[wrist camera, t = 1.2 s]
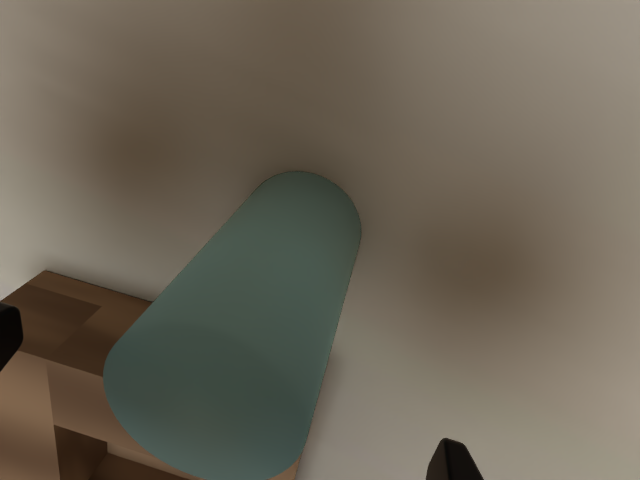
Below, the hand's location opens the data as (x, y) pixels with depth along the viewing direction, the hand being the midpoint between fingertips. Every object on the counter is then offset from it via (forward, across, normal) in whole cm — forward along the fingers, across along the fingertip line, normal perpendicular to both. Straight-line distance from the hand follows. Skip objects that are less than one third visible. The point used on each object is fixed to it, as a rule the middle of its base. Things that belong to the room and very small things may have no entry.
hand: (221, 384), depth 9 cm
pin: (+7, 0, 0) cm, 7 cm away
